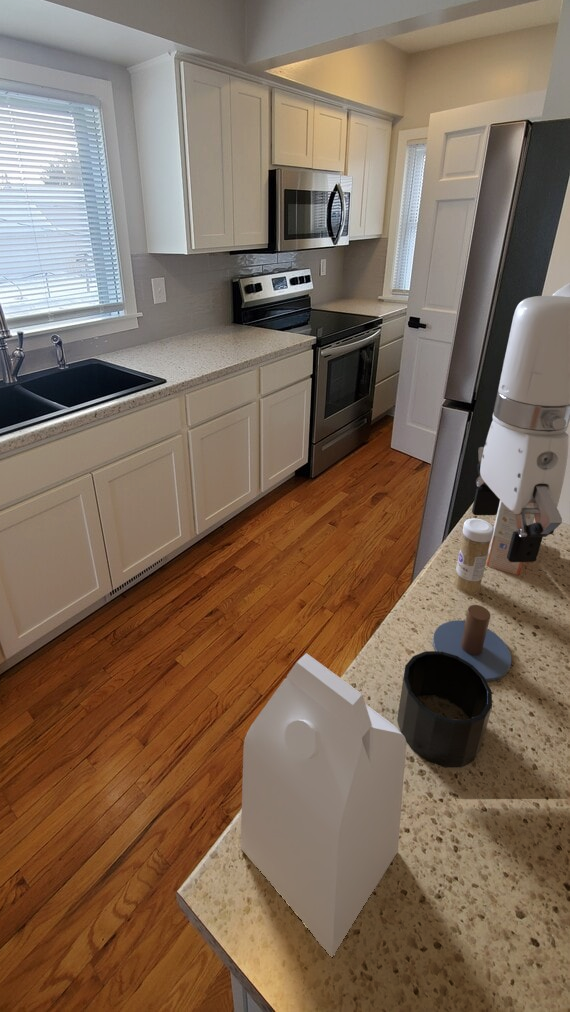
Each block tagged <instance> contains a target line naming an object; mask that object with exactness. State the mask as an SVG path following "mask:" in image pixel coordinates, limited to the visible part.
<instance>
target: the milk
mask: <svg viewBox="0 0 570 1012" xmlns="http://www.w3.org/2000/svg"><path fill="white" fill-rule="evenodd" d="M406 753H407V742H406V739H405V737H404V735H403V734H402V733H401V732H400V729H398V727H396V726H395V724H394V723H392V722H391V721H389V720H388V719H387V718H385V717H384V716H382V715H381V714H380V713H378V712H377V711H376V710H375V709H373V708H372V707H370V706H369V705H368V704H366V701H365V699H364V695H363V693H362V692H360V691H359V690H357V688H355V687H354V686H352V685H351V684H349V683H348V682H347V681H346V680H344V679H342V678H341V677H340V676H339V675H337V674H336V673H334V672H333V671H332V670H330V669H329V668H327V667H326V666H325V665H323V664H322V663H321V662H319V660H316V659H315V658H314V657H313V656H311V655H310V654H308V653H307V652H305V654H304V655H302V656H301V657H300V658H299V659H298V660H297V661H296V662H295V663H294V665H293V666H292V668H291V669H290V671H289V672H288V674H287V675H286V678H284V679H283V681H282V682H281V683H280V684H279V685H278V687H277V689H276V690H275V691H274V693H273V694H272V696H271V697H270V698H269V699H268V701H267V703H266V704H265V705H264V707H263V708H262V709H261V711H260V712H259V713H258V714H257V716H256V718H255V719H254V721H253V722H252V723H251V725H250V727H249V728H248V730H247V732H246V734H245V737H244V740H243V755H242V787H241V815H240V818H241V819H240V846H239V847H240V849H241V851H242V852H243V853H244V854H245V855H246V857H247V858H248V859H249V860H250V862H251V863H252V864H253V865H254V867H255V868H256V867H257V868H258V869H259V870H258V869H257V868H256V869H257V870H258V872H260V871H261V872H260V874H261V873H262V874H263V875H264V876H265V877H266V878H267V879H268V880H269V881H270V882H271V884H272V885H273V886H274V887H275V888H276V889H277V891H278V892H279V893H280V894H281V896H283V898H284V899H285V901H287V903H288V904H289V905H290V906H291V908H292V909H293V910H294V911H295V912H296V913H297V914H298V916H299V917H300V918H301V920H302V921H303V923H305V925H306V926H307V927H308V929H309V930H310V931H311V933H312V934H313V936H314V937H315V938H316V939H315V938H314V937H313V936H312V937H313V938H314V939H315V941H316V942H317V941H318V942H319V943H318V942H317V943H318V944H319V945H320V944H321V945H320V947H321V946H322V947H323V948H324V949H325V950H326V951H325V950H324V949H323V948H322V947H321V948H322V949H323V950H324V951H325V953H326V952H328V954H330V956H331V957H333V955H334V954H335V952H336V951H337V952H338V950H339V949H338V947H339V946H340V944H341V943H342V944H343V942H344V941H343V939H344V938H345V939H346V937H347V936H346V935H348V934H349V932H350V931H349V929H350V928H351V926H352V924H353V923H354V921H355V920H356V921H357V919H358V918H357V916H358V914H359V913H360V911H361V909H362V908H363V906H364V905H365V903H366V902H367V903H368V901H369V900H368V898H369V897H370V898H371V896H372V895H371V894H373V893H374V892H375V890H376V888H377V887H378V885H379V883H380V882H381V880H382V879H383V877H384V875H385V874H386V872H387V871H388V869H389V867H390V865H391V864H392V862H393V860H394V859H395V857H396V855H397V854H398V852H399V842H400V841H399V840H400V831H401V830H400V828H401V818H402V817H401V816H402V815H401V814H402V804H403V803H402V802H403V793H404V792H403V791H404V779H405V777H404V776H405V765H406ZM262 874H261V875H262ZM263 875H262V876H263ZM264 876H263V877H264ZM265 877H264V878H265ZM266 878H265V879H266ZM376 886H377V887H376ZM374 889H375V890H374ZM372 892H373V893H372ZM370 895H371V896H370ZM370 898H369V899H370ZM367 900H368V901H367ZM367 903H366V904H367ZM365 906H366V905H365ZM365 906H364V907H365ZM363 909H364V908H363ZM363 909H362V910H363ZM361 912H362V911H361ZM360 914H361V913H360ZM360 914H359V915H360ZM358 917H359V916H358ZM356 918H357V919H356ZM356 921H355V922H356ZM303 923H302V924H303ZM354 924H355V923H354ZM354 924H353V925H354ZM352 927H353V926H352ZM351 929H352V928H351ZM351 929H350V930H351ZM348 931H349V932H348ZM311 933H310V934H311ZM347 933H348V934H347ZM312 934H311V935H312ZM345 936H346V937H345ZM345 939H344V940H345ZM342 941H343V942H342ZM342 944H341V945H342ZM340 947H341V946H340ZM340 947H339V948H340ZM337 949H338V950H337ZM337 952H336V953H337ZM328 954H327V955H328ZM335 955H336V954H335ZM335 955H334V956H335ZM330 956H329V957H330ZM331 957H330V958H331ZM333 958H334V957H333Z"/></svg>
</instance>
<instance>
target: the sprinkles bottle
mask: <svg viewBox="0 0 570 1012" xmlns="http://www.w3.org/2000/svg"><path fill="white" fill-rule="evenodd" d="M493 531H494V525H492V524H491V523H490V522H488V520H487V521H486V520H485V519H481V518H475V517H473V518H468V519H466V520H465V521H464V523H463V526H462V539H461V545H460V548H459V553H458V557H457V562H456V566H455V567H456V568H455V574H454V578H453V581H452V584H453V586H454V588H455V589H456V590H458V591H459V592H460V593H462V594H466V595H475V594H479V593H480V591H481V585H482V580H483V578H484V573H485V569H486V564H487V558H488V553H489V548H490V543H491V539H492V536H493Z"/></svg>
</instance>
